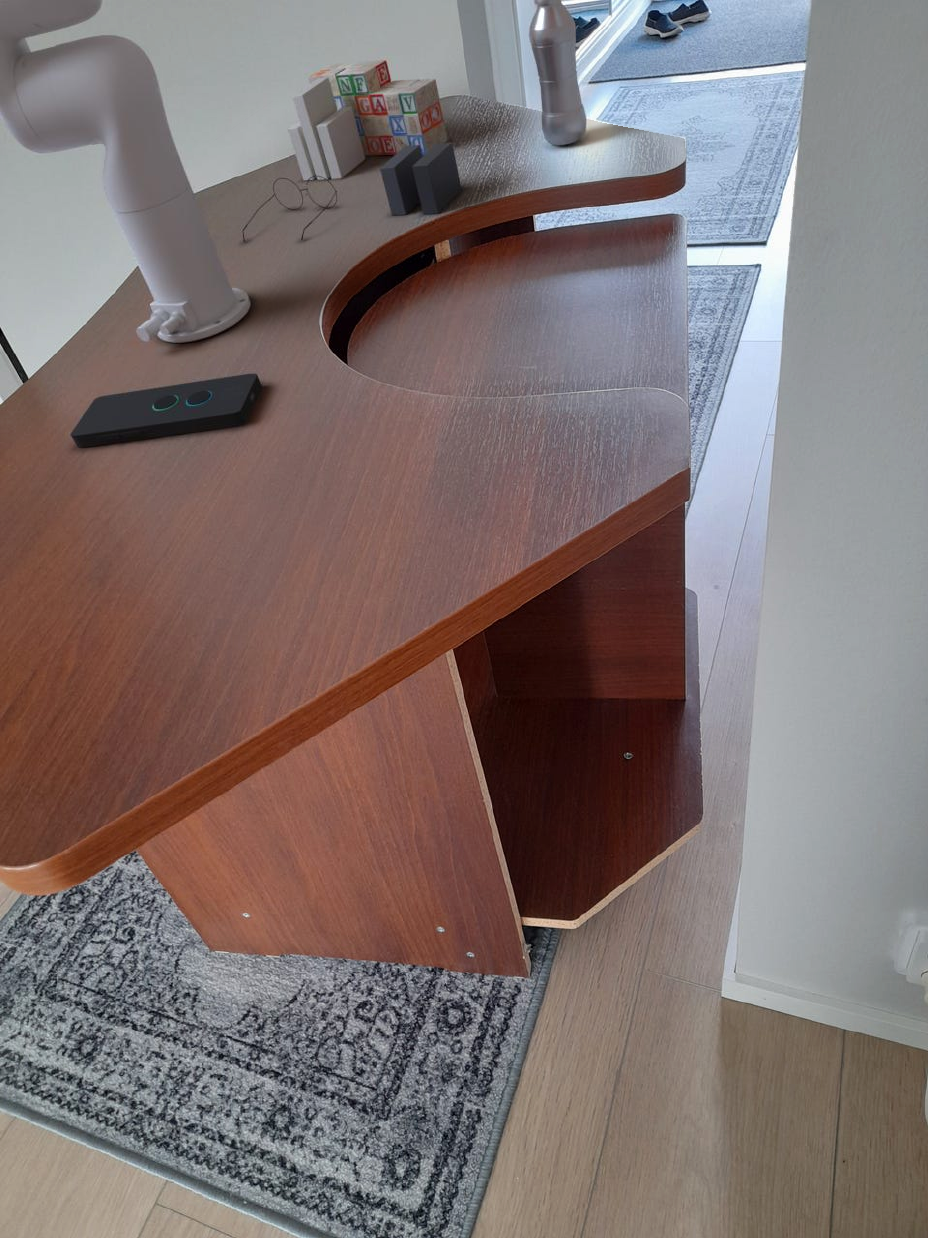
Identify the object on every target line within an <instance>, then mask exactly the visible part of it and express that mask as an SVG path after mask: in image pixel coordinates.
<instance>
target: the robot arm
mask: <svg viewBox="0 0 928 1238" xmlns="http://www.w3.org/2000/svg"><path fill="white" fill-rule="evenodd" d="M102 4H103V0H0V120H1V121H2V124H3V125H4V126H5V128H6V129H7V131H8V132H9V133H10V135H11V136H12V137H13V138H14V139H15V140H16V141H17V142H18V143H19V144H20V145H21V146H22V147H24V148H25V149H27V150H28V151H31V152H33V153H38V154H51V153H57V152H62V151H67V150H68V151H69V150H72V149H77V148H81V147H86V146H94V145H95V146H96V145H103V146H104V148H105V155H104V156H105V157H104V163H103V169H102V187H103V191H104V195H105V198H106V200H107V202H108V204H109V206H110V208H111V210H112V212H113V215H114V217H115V219H116V221H117V223H118V225H119V228H120V230H121V232H122V234H123V235H124V238H125V240H126V242H127V245H128V247H129V248H130V251H131V252H132V255H133V257H134V259H135V261H136V264H137V266H138V268H139V270H140V272H141V274H142V276H143V278H144V281H145V283H146V285H147V287H148V289H149V291H150V293H151V296H152V298H153V301H152V302H151V303H150V304H149V306H150V309H151V311H152V312H151V314H150V317H149V319H148V320H146V321H145V322H143V323H142V324H141V325H140V326H138V327H137V328H136V335H137V337H138V338H139V340H140V341H143V343H148V342H150V341H152V340H153V339H154V338H155V337H156V336H157V337H158V338H159V339H160V340H162V341H164V342H167V343H173V344H176V343H177V344H178V343H179V344H180V343H181V344H182V343H190V342H195V341H200V340H203V339H206V338H209V337H212V336H214V335H217V334H219V333H221V332H223V331H226V330H227V329H229V328H231V327H233V326H235V325H236V324H237V323H238V322H240V321H241V320H242V319H243V318H245V316H246V315H247V313H248V312H249V310H250V308H251V301H250V297H249V294H248V293H247V292H246V291H245V290H243V289H241V288H237V287H232V285H231V283H230V280H229V277H228V275H227V273H226V271H225V268H224V265H223V263H222V260H221V258H220V255H219V252H218V250H217V248H216V245H215V243H214V240H213V238H212V235H211V232H210V230H209V227H208V225H207V223H206V220H205V218H204V215H203V213H202V211H201V208H200V206H199V203H198V201H197V197H196V196H195V193H194V190H193V188H192V185H191V183H190V180H189V178H188V176H187V173H186V170H185V168H184V165H183V163H182V160H181V158H180V154H179V152H178V150H177V146H176V144H175V141H174V138H173V135H172V132H171V128H170V124H169V122H168V117H167V114H166V110H165V106H164V100H163V97H162V92H161V88H160V84H159V80H158V77H157V73H156V71H155V68H154V65H153V63H152V61H151V59H150V58H149V56H148V55H147V53H146V52H145V51H144V50H143V48H141V46H140V45H138V44H137V43H136V42H134V41H133V40H131V39H128V38H126V37H123V36H119V35H114V34H102V35H101V34H100V35H93V36H89V37H84V38H80V39H76V40H75V39H74V40H72V41H67V42H63V43H59V44H56V45H54V46H51V47H46V48H42V49H38V50H34V51H31V49H30V46H29V44H28V42H27V38H30V37H31V38H32V37H36V36H40V35H43V34H47V33H52V32H55V31H60V30H63V29H68V28H71V27H73V26H76V25H79V24H82V23H84V22H87V21H89V20H90V19H92V18H94V17H95V16H96V15H97V13H98V12H99V11H100V10H101V7H102Z"/></svg>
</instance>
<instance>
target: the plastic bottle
mask: <svg viewBox="0 0 928 1238" xmlns="http://www.w3.org/2000/svg"><path fill="white" fill-rule="evenodd" d="M533 2H534V5H535V6H536V10H535V12H534V14H533V17H532V19H531V22H530V24H529V29H528V37H529V43H530V46H531V51H532V54H533V57H534V61H535V66H536V70H537V76H538V82H539V86H540V100H541V130H542V134H543V137H544V139H545V141H547V143H548V144H549V145H552V146H565V145H569V144H572V143H576V142H578V141H580V140H582V139H583V138H584V136H585V133H586V132H587V119H588V118H587V115H586V110H585V108H584V104H583V103H582V97H581V91H580V86H579V80H578V71H577V55H576V54H577V51H576V50H577V49H576V47H577V43H576V42H577V34H576V33H577V30H576V29H577V27H576V22H575V19H574V17H573V16H572V13H570V11H569V10H568V9H567V7H566V6H565V5H564V4H563V3H562V0H533Z"/></svg>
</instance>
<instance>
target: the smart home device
mask: <svg viewBox="0 0 928 1238" xmlns="http://www.w3.org/2000/svg"><path fill="white" fill-rule="evenodd" d="M262 388H263V385H262V383H261V381H260V377H259V376H258V373H245V374H237V375H231V376H224V377H217V378H211V379H206V380H199V381H193V382H185V383H180V384H173V385H167V386H158V387H152V388H146V389H140V390H133V391H127V392H120V393H114V394H106V395H102V396H98V397H95V398H94V399H93V401H92V402H91V403H90V405H89V406H88V408H87V409H86V411H85V412H84V414H83V415H82V416H81V418H80V419H79V421H78V422H77V423H76V425H75V426H74V428H73V430H72V431H71V433H70V437H71V438H72V440H73V442H74V443H75V445H76V446H77V448H81V449H83V448H89V447H97V446H105V445H111V444H119V443H125V442H126V443H127V442H134V441H140V440H146V439H147V440H148V439H154V438H161V437H168V436H177V435H183V434H189V433H196V432H205V431H211V430H219V429H225V428H233V427H239V426H242V425H245V424H246V423H247V421H248V420H249V417H250V415H251V413H252V411H253V408H254V406H255V404H256V402H257V400H258V397H259V395H260V392H261V391H262Z"/></svg>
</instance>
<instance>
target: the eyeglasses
mask: <svg viewBox="0 0 928 1238" xmlns="http://www.w3.org/2000/svg"><path fill="white" fill-rule="evenodd" d="M312 177H315V176H312ZM312 177H310V178H312ZM318 177H321V176H318ZM310 178H309V179H310ZM322 178H324V177H322ZM282 179H283V180H287V181H290V182H291V183H292V184H294V186H295V187H296V188H297V189H298V190H299V192H300V196H301V198H302V199H301V200H302V202H301V205H300V206H299V207H298V208H295V209H294V208H289V207H287V206H286V205H284V204H283V203H281V201H280V200H279V199H278V197H277V195H276V192H275V185H276V182H277V181H278V180H282ZM309 179H308V180H306V184H308V183H309V181H310V180H309ZM324 179H325V178H324ZM325 181H327V182H328V183H329V184H330V185H331V186H332V188H333V190H334V194H333V195H332V198H331V200H329V201H330V202H329V203H328V204H327V205H326V206H325V207H324V206H322V205H320V204H318V203H317V202H315V201H314V200H313V198H312V197H311V195H310V193H309V190H308V188H302V189H300V188H299V186H298V185H297V184H296V183H295V182H294V181H292V180H290V179H289V178H286V177H279V178H277V179H276V180H275V181H274V182H273V185H272V189H273V195H272V196H271V197H270V198H269V199H268V200H266V201H265V202H264V203H263V204H262V205H261V206H260V207H259V208H258V209H257V210H256V212H255V213H254V214H253V215H252V217H251V218H250V219H249V221H248V222H247V224H245V226H244V228H243V229H242V241H243V242H244V243H246V240H245V239H246V238H245V232H244V231H245V230H246V228H247V227H248V225H249V224H250V222H251V221H252V220H253V218H254V217H255V216H256V215H257V213H258V212H259V210H261V209H262V207H264V206H265V204H267V203H268V202H269V201H270V200H272V198H273V197H274V196H275V199H276V200H277V202H279V203H281V206H283V207H284V208H285V209H288V210H291V211H298V210H299V209H300V208H302V206H303V204H304V197H303V193H302V191H307V193H305V196H309V198H310V199H311V201H312V202H313V204H316V205H317V206H318V207H320V208H322V210H321V211H320V213H319V214H317V215H316V217H315V218H313V220H311V221H310V222H309V223H308V224H307V225H306V226H305V227H304V228H303V231H302V233H301V238H300V240H301V241H303V239H304V234H305V230H306V229H307V228H308V227H309V226H310V225H312V224H313V222H314V221H315V220H316V219H318V217H319V216H320V215H321V214H322V213H323V212H324V211H325V210H326V209H328V208H329V209H332V208H334V206H336V204H337V202H338V191H337V190H336V188H335V187H334V185H333V184H332V183H331V181H329V179H326V180H325ZM335 195H336V200H335V203H334V204H333V206H330V204H331V203H332V201H333V199H334V197H335ZM329 206H330V207H329Z"/></svg>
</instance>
